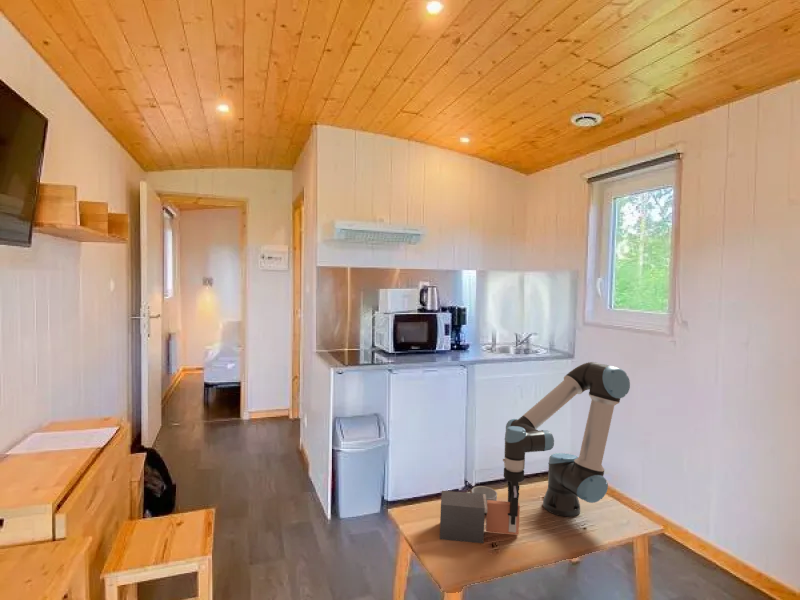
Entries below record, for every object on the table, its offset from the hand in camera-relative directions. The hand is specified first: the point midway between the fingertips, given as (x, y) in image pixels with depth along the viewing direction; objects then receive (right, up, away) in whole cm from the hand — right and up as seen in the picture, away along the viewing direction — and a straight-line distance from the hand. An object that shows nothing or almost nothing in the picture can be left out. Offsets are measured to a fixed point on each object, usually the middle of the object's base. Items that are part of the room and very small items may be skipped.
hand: (511, 529), depth 176 cm
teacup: (-9, -2, +19) cm, 21 cm away
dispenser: (-19, -1, 0) cm, 19 cm away
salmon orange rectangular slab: (-4, -1, 0) cm, 4 cm away
